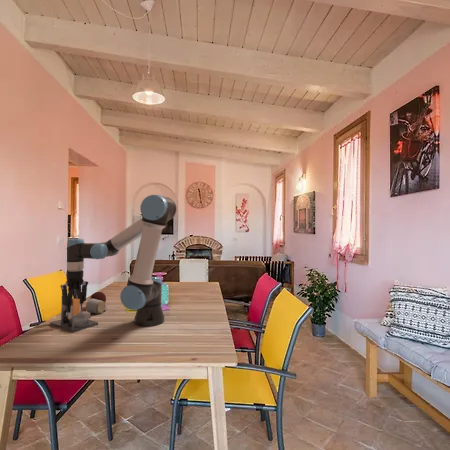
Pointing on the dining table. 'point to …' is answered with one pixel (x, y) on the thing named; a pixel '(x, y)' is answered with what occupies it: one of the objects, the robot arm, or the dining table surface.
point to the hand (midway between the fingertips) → (74, 317)
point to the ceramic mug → (95, 306)
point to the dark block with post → (70, 322)
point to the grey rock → (80, 318)
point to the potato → (99, 296)
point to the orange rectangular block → (75, 306)
